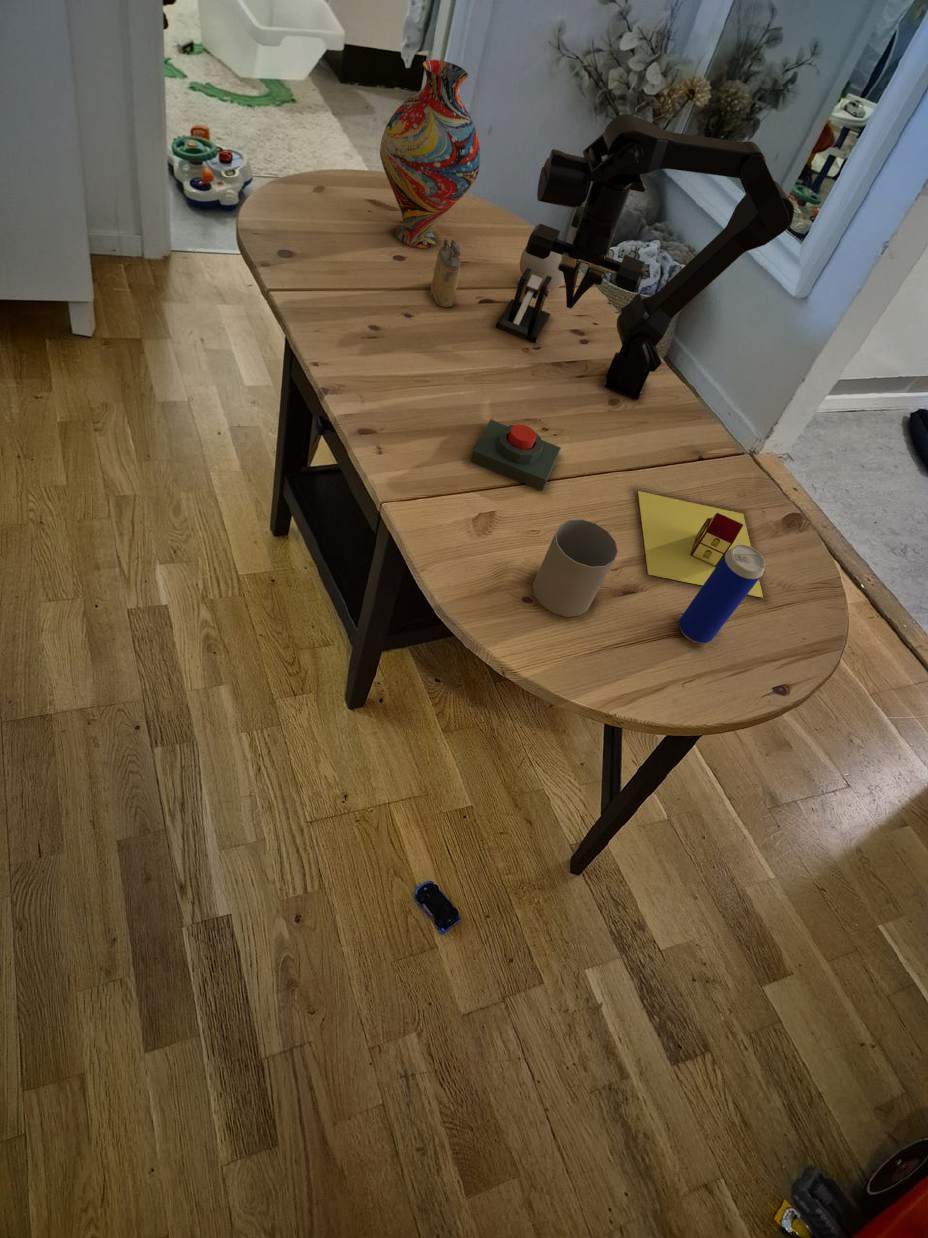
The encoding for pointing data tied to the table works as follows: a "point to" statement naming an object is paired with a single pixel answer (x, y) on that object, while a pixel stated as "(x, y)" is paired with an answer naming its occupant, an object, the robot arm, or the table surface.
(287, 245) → the table surface
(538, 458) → the button box
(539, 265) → the ball
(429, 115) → the vase
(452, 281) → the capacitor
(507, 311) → the tap bracket
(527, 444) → the button
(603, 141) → the robot arm
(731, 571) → the beverage can
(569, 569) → the cup
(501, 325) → the lever
